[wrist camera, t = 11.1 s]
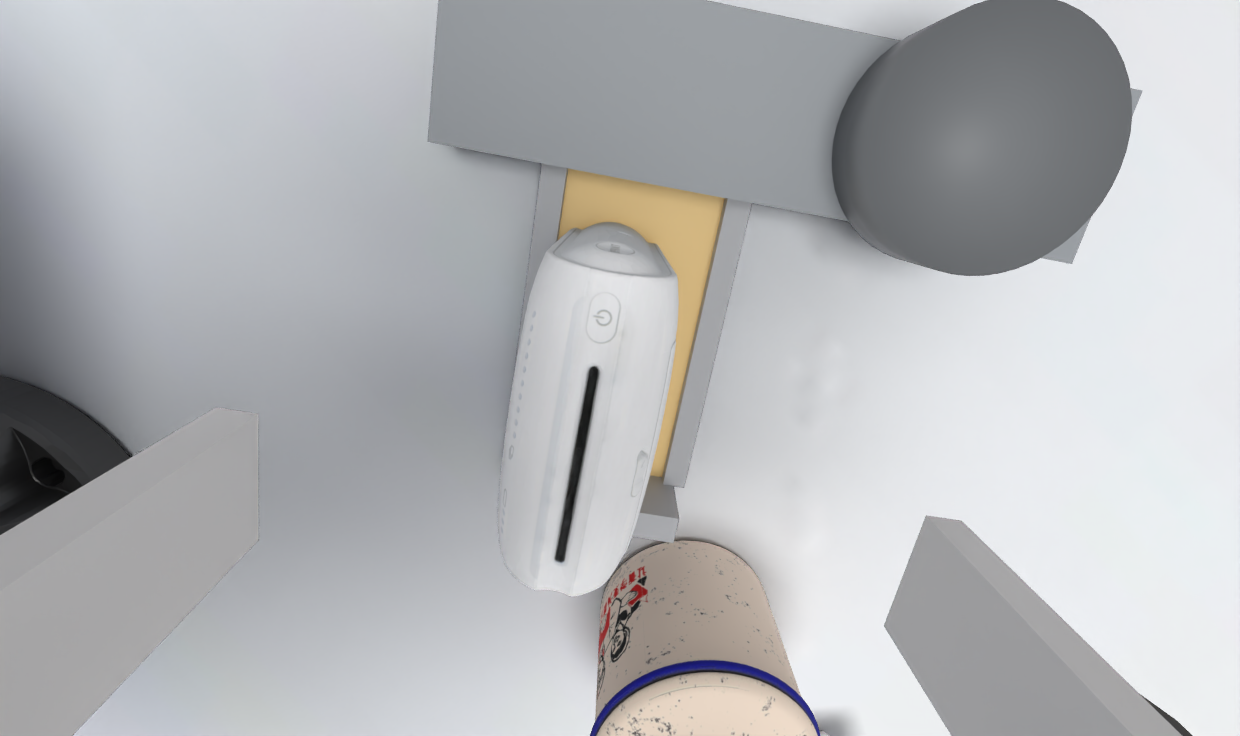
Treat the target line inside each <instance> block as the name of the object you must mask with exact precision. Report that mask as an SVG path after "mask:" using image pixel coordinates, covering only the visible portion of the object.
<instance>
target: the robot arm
mask: <svg viewBox="0 0 1240 736" xmlns="http://www.w3.org/2000/svg"><path fill="white" fill-rule="evenodd" d="M258 540H259V416H258V413H251V412H245V411H238V410H231V409H225V408H218V407H215V408H214V409H212V410H210V411H209V412H207V413H205V414H203V415H202V416H200V417H198V418H197V419H195V420H193V421H192V422H190V423H188V424H187V425H185V426H183V427H182V428H180V429H178V430H177V431H175V432H173V433H172V434H170V435H168V436H166V437H165V438H163V439H161V440H160V441H158V442H156V443H155V444H153V445H151V446H150V447H148V448H146V449H145V450H143V451H141V452H140V453H138V454H136V455H134V456H133V457H131V458H130V457H129V456H128V455H127V453H126V452H125V451H124V450H123V449H122V448H121V447H120V445H119V444H118V443H117V442H116V441H115V440H114V439H113V438H112V437H111V436H110V435H109V434H108V433H107V432H106V431H104V430H103V429H102V428H101V427H100V426H99V425H97V424H96V423H95V422H94V421H92V420H91V419H90V418H88V417H87V416H86V415H84V414H83V413H81V412H80V411H78V410H77V409H76V408H74V407H72V406H71V405H69V404H67V403H66V402H64V401H62V400H61V399H59V398H57V397H55V396H53V395H51V394H49V393H47V392H45V391H43V390H40V389H38V388H36V387H33V386H31V385H28V384H25V383H22V382H19V381H16V380H13V379H10V378H6V377H2V376H0V736H73V735H74V733H75V732H76V731H77V730H78V729H79V728H80V727H81V726H82V725H83V724H84V723H85V722H86V721H87V720H88V719H89V718H90V717H91V716H92V715H93V714H94V712H95V711H96V710H97V709H98V708H99V707H100V706H101V705H102V704H103V703H104V702H105V701H106V700H107V699H108V698H109V697H110V696H111V695H112V694H113V693H114V692H115V690H116V689H117V688H118V687H119V686H120V685H121V684H122V683H123V682H124V681H125V680H126V679H127V678H128V677H129V676H130V675H131V674H132V673H133V672H134V671H135V669H136V668H137V667H138V666H139V665H140V664H141V663H142V662H143V661H144V660H145V659H146V658H147V657H148V656H149V655H150V654H151V653H152V652H153V651H154V650H155V648H156V647H157V646H158V645H159V644H160V643H161V642H162V641H163V640H164V639H165V638H166V637H167V636H168V635H169V634H170V633H171V632H172V631H173V630H174V629H175V627H176V626H177V625H178V624H179V623H180V622H181V621H182V620H183V619H184V618H185V617H186V616H187V615H188V614H189V613H190V612H191V611H192V610H193V609H194V608H195V606H196V605H197V604H198V603H199V602H200V601H201V600H202V599H203V598H204V597H205V596H206V595H207V594H208V593H209V592H210V591H211V590H212V589H213V588H214V587H215V585H216V584H217V583H218V582H219V581H220V580H221V579H222V578H223V577H224V576H225V575H226V574H227V573H228V572H229V571H230V570H231V569H232V568H233V567H234V566H235V564H236V563H237V562H238V561H239V560H240V559H241V558H242V557H243V556H244V555H245V554H246V553H247V552H248V551H249V550H250V549H251V548H252V547H253V546H254V545H255V543H256V542H257V541H258ZM884 627H885V628H886V630H887V632H888V633H889V635H890V636H891V638H892V640H893V641H894V643H895V645H896V646H897V648H898V649H899V651H900V653H901V654H902V656H903V658H904V659H905V661H906V662H907V664H908V666H909V667H910V669H911V671H912V672H913V674H914V675H915V677H916V679H917V680H918V682H919V684H920V685H921V687H922V688H923V690H924V692H925V693H926V695H927V697H928V698H929V700H930V701H931V703H932V705H933V706H934V708H935V710H936V711H937V713H938V714H939V716H940V718H941V719H942V721H943V723H944V724H945V726H946V727H947V729H948V731H949V732H950V734H951V736H1192V735H1191V734H1190V733H1189V732H1188V731H1187V730H1186V729H1185V728H1184V727H1183V726H1182V725H1181V724H1180V723H1179V722H1178V721H1177V720H1175V719H1174V718H1172V717H1171V716H1170V715H1168V714H1167V713H1165V712H1164V711H1163V710H1161V709H1160V708H1158V707H1157V706H1156V705H1154V704H1153V703H1152V702H1150V701H1149V700H1147V699H1146V698H1145V697H1143V696H1142V695H1140V694H1139V693H1138V692H1137V691H1136V690H1135V689H1134V688H1133V687H1132V686H1131V685H1130V684H1129V683H1128V682H1127V681H1126V680H1125V679H1124V678H1123V677H1121V676H1120V675H1119V674H1118V673H1117V672H1116V671H1115V670H1114V669H1113V668H1112V667H1111V666H1110V665H1109V664H1108V663H1107V662H1106V661H1105V660H1104V659H1103V658H1102V657H1101V656H1100V655H1099V654H1098V653H1097V652H1096V651H1095V650H1094V649H1093V648H1092V647H1091V646H1090V645H1089V644H1088V643H1087V642H1086V641H1085V640H1083V639H1082V638H1081V637H1080V636H1079V635H1078V634H1077V633H1076V632H1075V631H1074V630H1073V629H1072V628H1071V627H1070V626H1069V625H1068V624H1067V623H1066V622H1065V621H1064V620H1063V619H1062V618H1061V617H1060V616H1059V615H1058V614H1057V613H1056V612H1055V611H1054V610H1053V609H1052V608H1051V607H1050V606H1049V605H1048V604H1047V603H1045V602H1044V601H1043V600H1042V599H1041V598H1040V597H1039V596H1038V595H1037V594H1036V593H1035V592H1034V591H1033V590H1032V589H1031V588H1030V587H1029V586H1028V585H1027V584H1026V583H1025V582H1024V581H1023V580H1022V579H1021V578H1020V577H1019V576H1018V575H1017V574H1016V573H1015V572H1014V571H1013V570H1012V569H1011V568H1010V567H1009V566H1007V565H1006V564H1005V563H1004V562H1003V561H1002V560H1001V559H1000V558H999V557H998V556H997V555H996V554H995V553H994V552H993V551H992V550H991V549H990V548H989V547H988V546H987V545H986V544H985V543H984V542H983V541H982V540H981V539H980V538H979V537H978V536H977V535H976V534H975V533H974V532H973V531H972V530H971V529H969V528H968V527H967V526H966V525H965V524H964V523H963V522H962V521H959V520H953V519H946V518H939V517H933V516H926V517H925V520H924V522H923V525H922V527H921V530H920V533H919V535H918V538H917V540H916V543H915V546H914V548H913V551H912V554H911V556H910V559H909V561H908V564H907V567H906V569H905V572H904V574H903V577H902V580H901V582H900V585H899V588H898V590H897V593H896V595H895V598H894V601H893V603H892V606H891V609H890V611H889V614H888V616H887V619H886V622H885V624H884Z"/></svg>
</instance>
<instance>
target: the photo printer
mask: <svg viewBox="0 0 1240 736" xmlns="http://www.w3.org/2000/svg"><path fill="white" fill-rule="evenodd" d="M678 306H679V299H678V278H677V274H676V273H675V271H674V270H673V268H672V267H671V265H670V264H669V262H668V261H667V259H666V258H665V256H664V254H663V253H662V251H661V249H660V248H659V246H658V245H657V244H655V243H648V242H647V241H646V240H645V239H644V238H643V237H642V236H641V235H640V234H639V233H638V232H637V231H635V230H634V229H632V228H631V227H629V226H626V225H624V224H620V223H616V222H601V223H597V224H594V225H591V226H589V227H587V228H585V229H578V228H572V229H571V230H569V231H568V232H567V233H566V234H565V235H563V236H562V237H561V238H560V239H559V240H558V241H556V242H555V243H554V244H553V245H552V246H551V248H549V249H548V250H547V251H546V253H545V255H544V257H543V260H542V262H541V264H540V267H539V269H538V272H537V274H536V277H535V280H534V283H533V287H532V290H531V293H530V296H529V301H528V304H527V310H526V314H525V318H524V323H523V328H522V333H521V338H520V344H519V349H518V354H517V360H516V366H515V372H514V378H513V384H512V389H511V397H510V403H509V411H508V417H507V424H506V431H505V440H504V447H503V456H502V465H501V474H500V484H499V497H498V536H499V543H500V549H501V553H502V557H503V561H504V563H505V565H506V567H507V569H508V570H509V571H510V573H511V574H512V575H513V576H514V577H515V578H516V579H517V580H518V581H519V582H521V583H522V584H524V585H525V586H527V587H528V588H530V589H532V590H552V591H557V592H561V593H563V594H566V595H568V596H570V597H575V596H580V595H584V594H587V593H589V592H591V591H594V590H596V589H598V588H599V587H601V586H602V585H603V584H604V583H606V582H607V580H608V579H609V578H610V577H611V575H612V574H613V572H614V571H615V569H616V567H617V566H618V564H619V562H620V560H621V559H622V557H623V556H624V554H625V553H626V551H627V549H628V546H629V544H630V541H631V538H632V535H633V532H634V529H635V526H636V523H637V520H638V516H639V513H640V509H641V506H642V503H643V499H644V496H645V492H646V488H647V484H648V480H649V477H650V473H651V469H652V464H653V461H654V456H655V452H656V448H657V444H658V439H659V435H660V430H661V425H662V420H663V416H664V411H665V405H666V401H667V394H668V390H669V385H670V380H671V374H672V367H673V361H674V354H675V347H676V332H677V324H678Z"/></svg>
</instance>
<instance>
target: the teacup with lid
mask: <svg viewBox="0 0 1240 736" xmlns="http://www.w3.org/2000/svg"><path fill="white" fill-rule="evenodd" d="M590 736H820V731H819V728H818V725H817V722H816V720H815V717H814V715H813V713H812V711H811V710H810V708H809V706H808V705H807V704H806V702H805V701H804V700H803V699H802V697H801V695H800V692H799V689H798V686H797V683H796V681H795V678H794V675H793V672H792V669H791V666H790V663H789V661H788V658H787V655H786V652H785V649H784V646H783V643H782V640H781V638H780V635H779V632H778V629H777V626H776V623H775V620H774V617H773V615H772V612H771V609H770V606H769V603H768V600H767V597H766V594H765V592H764V589H763V587H762V584H761V582H760V580H759V579H758V577H757V575H756V574H755V573H754V571H753V570H752V569H751V568H750V567H749V566H748V564H746V563H745V562H744V561H743V560H742V559H740V558H739V557H738V556H736V555H735V554H733V553H731V552H730V551H728V550H726V549H724V548H721V547H719V546H716V545H713V544H709V543H705V542H699V541H674V543H669V542H667V543H662V544H659V545H655V546H653V547H650V548H647V549H645V550H643V551H641V552H639V553H638V554H636V555H634V556H633V557H631V558H630V559H629V560H627V561H626V562H625V563H624V564H623V565H622V566H621V567H620V568H619V569H618V570H617V571H616V572H615V574H614V575H613V576H612V578H611V579H610V581H609V583H608V585H607V587H606V589H605V591H604V594H603V598H602V602H601V610H600V630H599V652H598V674H597V695H596V717H595V723H594V725H593V728H592V731H591V734H590Z"/></svg>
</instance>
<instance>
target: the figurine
mask: <svg viewBox="0 0 1240 736" xmlns="http://www.w3.org/2000/svg"><path fill="white" fill-rule="evenodd" d="M820 736H829V735H828V734H827V733H825V732H824V731H820Z"/></svg>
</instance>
